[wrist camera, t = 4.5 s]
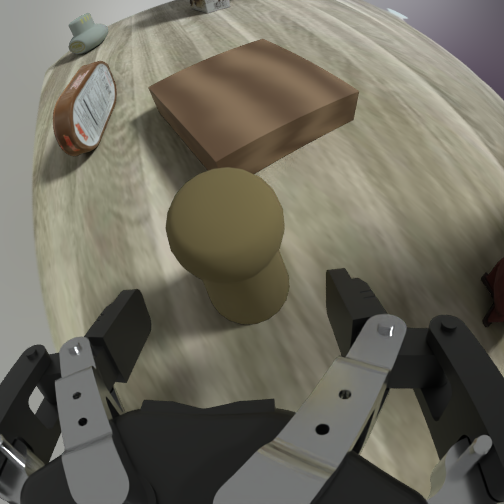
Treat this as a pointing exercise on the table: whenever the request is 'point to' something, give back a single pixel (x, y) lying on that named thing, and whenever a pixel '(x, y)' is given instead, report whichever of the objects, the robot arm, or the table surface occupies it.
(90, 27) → the air freshener
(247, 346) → the table surface
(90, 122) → the tin
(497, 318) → the mate gourd
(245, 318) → the cork
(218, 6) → the brown snack box
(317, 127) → the walnut base block
